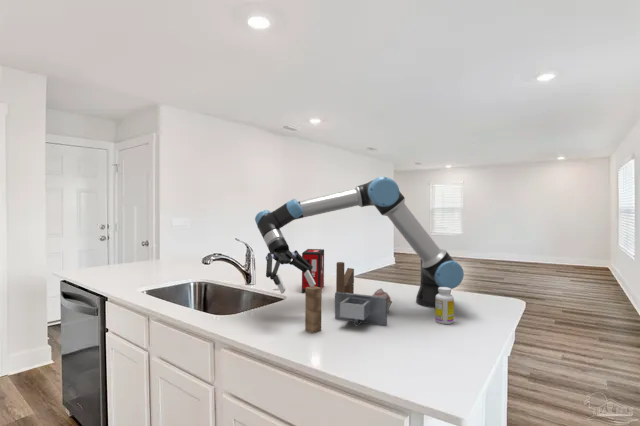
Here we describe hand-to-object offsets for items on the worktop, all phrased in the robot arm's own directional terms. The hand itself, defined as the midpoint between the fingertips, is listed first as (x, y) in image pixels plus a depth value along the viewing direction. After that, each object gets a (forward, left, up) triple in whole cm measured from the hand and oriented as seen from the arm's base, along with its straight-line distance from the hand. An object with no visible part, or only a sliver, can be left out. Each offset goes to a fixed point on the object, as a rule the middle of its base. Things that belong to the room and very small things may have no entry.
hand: (299, 288), depth 133 cm
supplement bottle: (-48, -28, -14) cm, 57 cm away
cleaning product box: (+19, -53, -14) cm, 58 cm away
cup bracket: (-19, -9, -13) cm, 25 cm away
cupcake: (-23, -29, -14) cm, 39 cm away
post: (-7, +2, -13) cm, 15 cm away
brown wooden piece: (-3, -40, -14) cm, 42 cm away
